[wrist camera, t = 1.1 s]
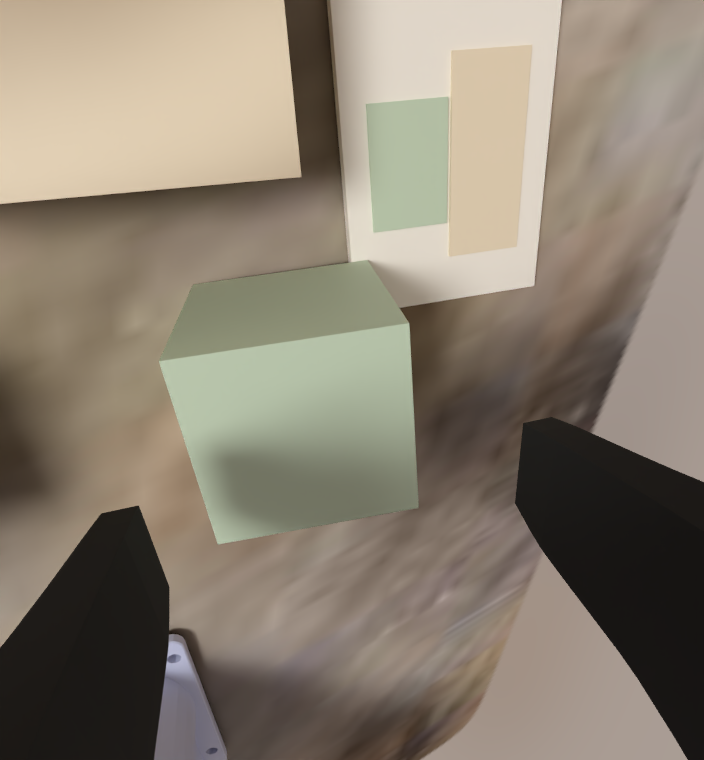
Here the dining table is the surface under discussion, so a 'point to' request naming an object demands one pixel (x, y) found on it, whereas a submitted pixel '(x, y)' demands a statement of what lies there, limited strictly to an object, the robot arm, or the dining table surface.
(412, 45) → the card
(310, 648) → the dining table surface
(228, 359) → the sage green block
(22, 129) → the birch base block
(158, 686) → the robot arm
